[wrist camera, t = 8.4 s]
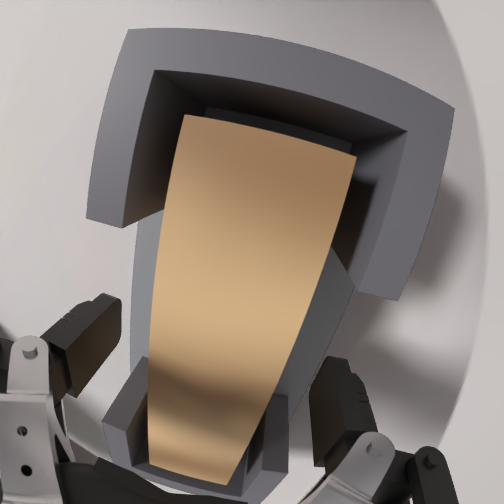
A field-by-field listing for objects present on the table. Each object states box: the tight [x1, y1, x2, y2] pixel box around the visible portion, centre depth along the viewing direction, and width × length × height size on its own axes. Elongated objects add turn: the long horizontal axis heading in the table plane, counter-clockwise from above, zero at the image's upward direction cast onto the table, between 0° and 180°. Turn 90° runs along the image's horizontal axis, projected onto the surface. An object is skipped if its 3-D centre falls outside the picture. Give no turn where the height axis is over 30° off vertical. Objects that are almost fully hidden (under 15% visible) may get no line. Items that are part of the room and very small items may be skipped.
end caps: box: [86, 28, 455, 504], centre depth 11 cm, size 21×10×6 cm, turn 166°
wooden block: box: [148, 114, 357, 485], centre depth 11 cm, size 15×4×5 cm, turn 166°
